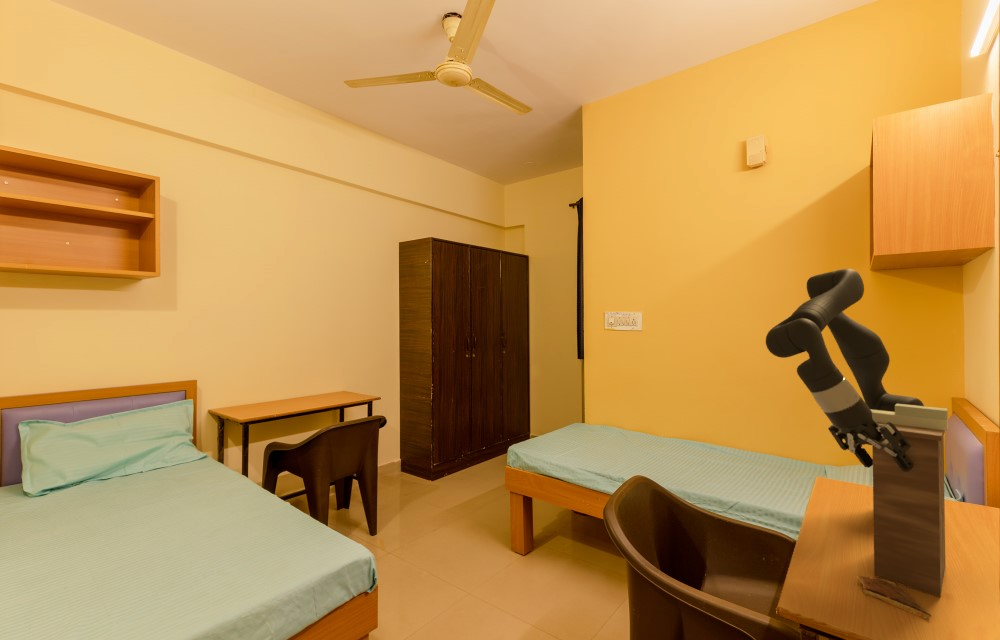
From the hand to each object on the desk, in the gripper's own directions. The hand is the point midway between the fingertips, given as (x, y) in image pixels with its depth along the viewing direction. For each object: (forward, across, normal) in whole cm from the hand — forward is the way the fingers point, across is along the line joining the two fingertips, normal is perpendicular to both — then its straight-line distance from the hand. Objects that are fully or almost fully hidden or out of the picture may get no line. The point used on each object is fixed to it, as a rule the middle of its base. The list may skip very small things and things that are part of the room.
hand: (888, 467), depth 93 cm
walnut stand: (+23, +7, +6) cm, 24 cm away
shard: (+19, 0, +17) cm, 25 cm away
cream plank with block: (-6, +3, -9) cm, 11 cm away
